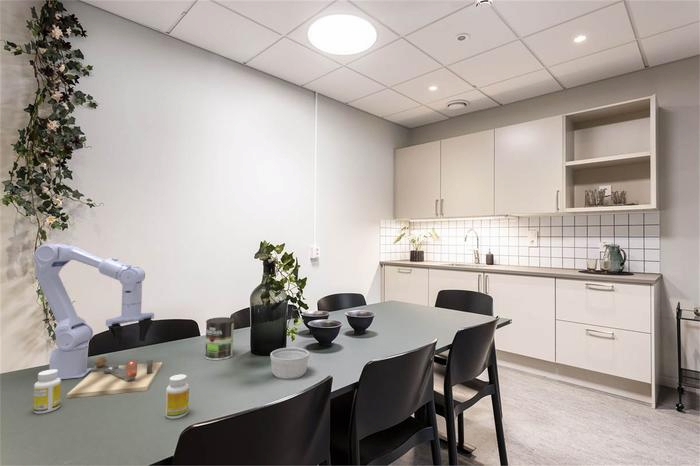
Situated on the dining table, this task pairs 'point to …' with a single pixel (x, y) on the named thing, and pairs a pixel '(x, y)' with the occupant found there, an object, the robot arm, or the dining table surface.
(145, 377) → the board
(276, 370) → the ramekin
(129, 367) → the lever
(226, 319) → the coffee can
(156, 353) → the dining table surface
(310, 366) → the dining table surface
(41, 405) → the supplement bottle
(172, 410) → the supplement bottle
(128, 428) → the dining table surface
